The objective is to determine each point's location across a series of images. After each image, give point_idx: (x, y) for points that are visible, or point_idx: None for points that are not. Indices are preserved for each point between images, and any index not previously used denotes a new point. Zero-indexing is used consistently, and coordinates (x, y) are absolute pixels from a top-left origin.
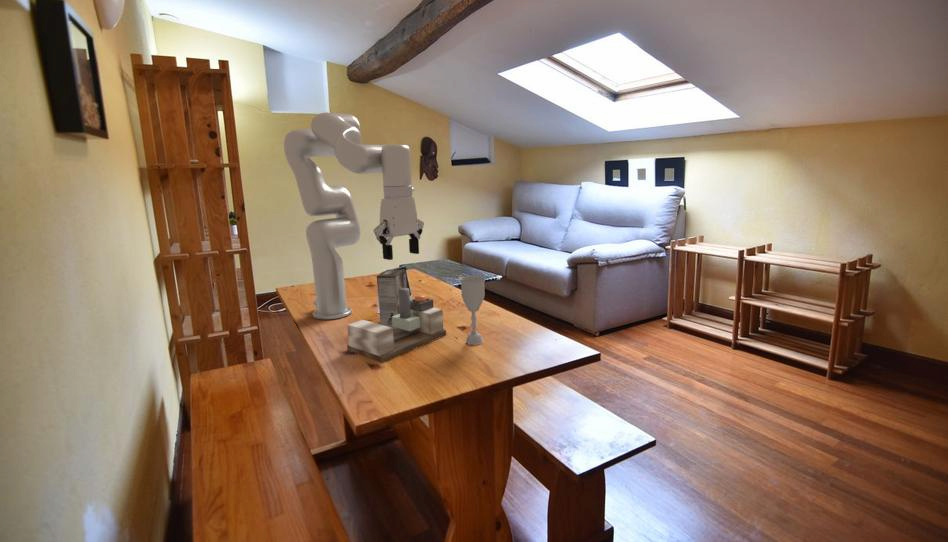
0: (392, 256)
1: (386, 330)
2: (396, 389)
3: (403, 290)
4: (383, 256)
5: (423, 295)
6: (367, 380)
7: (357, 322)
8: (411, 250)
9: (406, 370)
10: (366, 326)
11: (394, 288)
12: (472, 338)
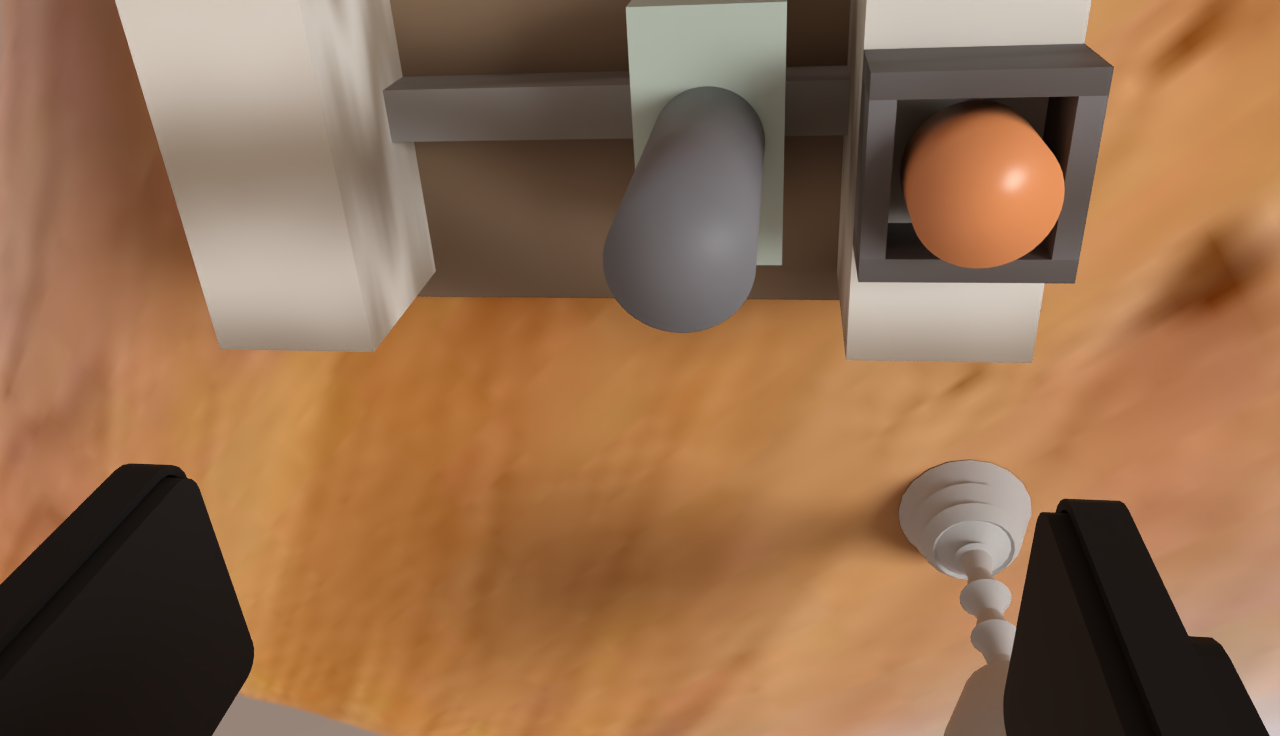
0: (212, 715)
1: (310, 349)
2: (225, 552)
3: (631, 305)
4: (103, 501)
5: (1035, 205)
6: (152, 386)
7: None
8: (1043, 614)
9: (374, 460)
10: (220, 140)
11: None
12: (925, 550)
